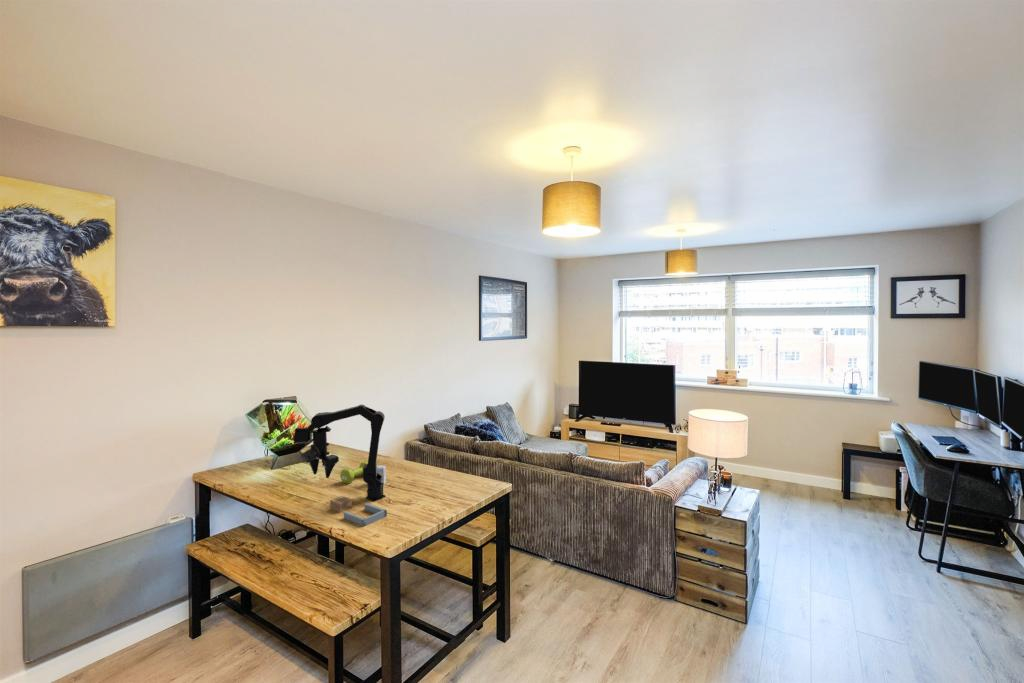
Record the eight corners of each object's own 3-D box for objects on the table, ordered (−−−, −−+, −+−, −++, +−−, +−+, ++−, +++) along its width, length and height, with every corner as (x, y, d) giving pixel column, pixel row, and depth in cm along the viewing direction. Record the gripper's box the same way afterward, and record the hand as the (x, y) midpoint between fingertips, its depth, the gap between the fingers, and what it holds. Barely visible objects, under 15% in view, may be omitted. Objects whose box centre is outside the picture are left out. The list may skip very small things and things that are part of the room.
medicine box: (386, 482, 233) (385, 465, 233) (384, 485, 229) (383, 468, 229) (370, 482, 233) (369, 465, 233) (368, 485, 229) (367, 468, 228)
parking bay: (366, 508, 201) (366, 503, 201) (386, 515, 193) (386, 510, 193) (343, 518, 192) (343, 512, 191) (364, 526, 184) (363, 520, 184)
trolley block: (342, 504, 206) (341, 495, 206) (352, 508, 203) (352, 498, 202) (330, 509, 201) (330, 500, 201) (340, 513, 198) (340, 503, 197)
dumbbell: (349, 485, 230) (349, 471, 229) (338, 483, 234) (338, 469, 233) (374, 475, 244) (373, 461, 244) (363, 473, 248) (363, 459, 248)
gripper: (290, 443, 206) (292, 477, 206) (316, 449, 195) (317, 485, 196) (313, 437, 215) (315, 470, 216) (338, 443, 205) (340, 477, 205)
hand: (321, 476), depth 208 cm, fingers open, 9 cm apart
